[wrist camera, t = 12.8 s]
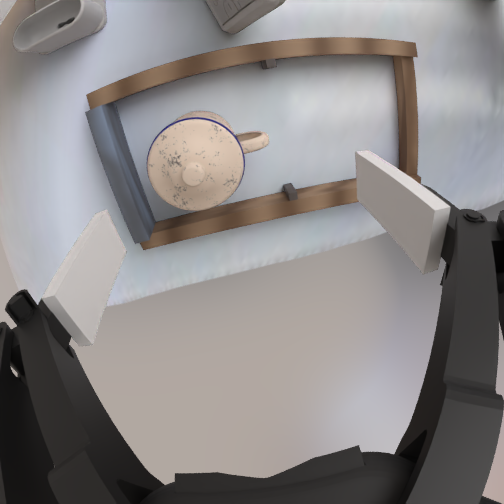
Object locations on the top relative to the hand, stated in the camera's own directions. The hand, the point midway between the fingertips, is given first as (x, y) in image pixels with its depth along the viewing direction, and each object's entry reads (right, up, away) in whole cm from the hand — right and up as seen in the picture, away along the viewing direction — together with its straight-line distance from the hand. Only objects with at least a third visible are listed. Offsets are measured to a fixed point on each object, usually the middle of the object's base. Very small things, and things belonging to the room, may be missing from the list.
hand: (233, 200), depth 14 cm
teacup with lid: (-4, +11, +18) cm, 21 cm away
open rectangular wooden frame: (+4, +12, +18) cm, 22 cm away
